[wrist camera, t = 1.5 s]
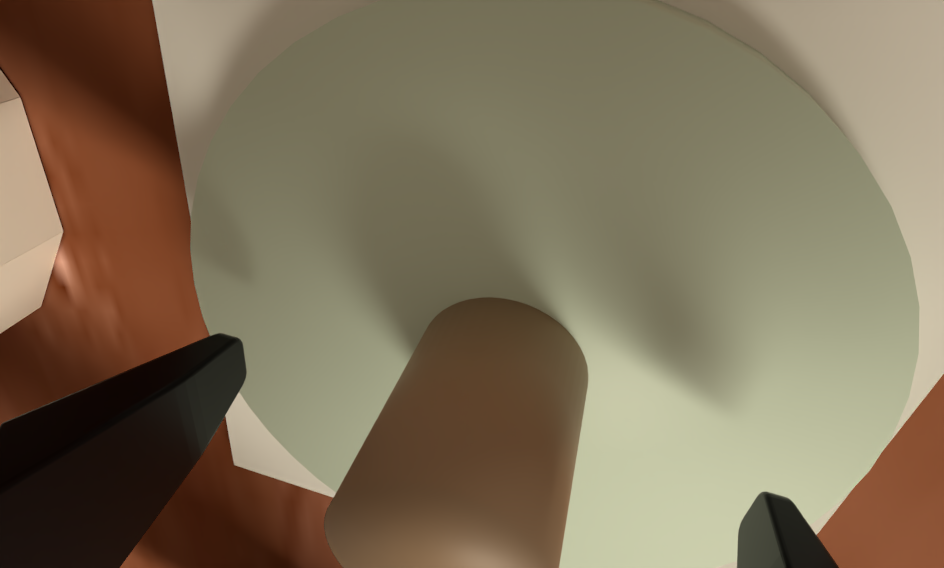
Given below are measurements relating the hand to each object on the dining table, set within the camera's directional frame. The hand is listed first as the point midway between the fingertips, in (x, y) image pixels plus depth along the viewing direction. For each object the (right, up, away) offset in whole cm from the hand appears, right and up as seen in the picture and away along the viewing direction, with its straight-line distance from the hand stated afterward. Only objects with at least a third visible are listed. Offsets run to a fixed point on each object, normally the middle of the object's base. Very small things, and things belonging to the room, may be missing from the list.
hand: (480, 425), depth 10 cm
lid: (+1, +1, +2) cm, 2 cm away
